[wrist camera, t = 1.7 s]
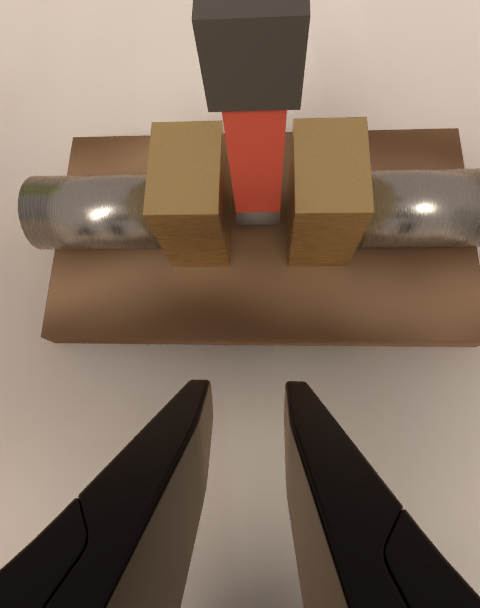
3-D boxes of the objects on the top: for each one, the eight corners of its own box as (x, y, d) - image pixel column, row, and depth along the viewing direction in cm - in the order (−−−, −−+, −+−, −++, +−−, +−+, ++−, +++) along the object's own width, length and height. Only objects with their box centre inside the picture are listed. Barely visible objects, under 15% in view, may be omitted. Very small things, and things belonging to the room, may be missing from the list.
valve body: (481, 265, 21) (555, 210, 15) (50, 267, 22) (-17, 216, 17) (469, 188, 22) (533, 112, 17) (62, 194, 23) (3, 126, 18)
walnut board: (475, 346, 21) (491, 340, 20) (55, 342, 22) (41, 336, 21) (447, 145, 24) (458, 128, 23) (83, 153, 26) (73, 137, 24)
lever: (287, 231, 20) (310, 18, 10) (230, 232, 20) (191, 23, 10) (286, 195, 21) (308, -44, 10) (231, 196, 21) (195, -38, 10)
